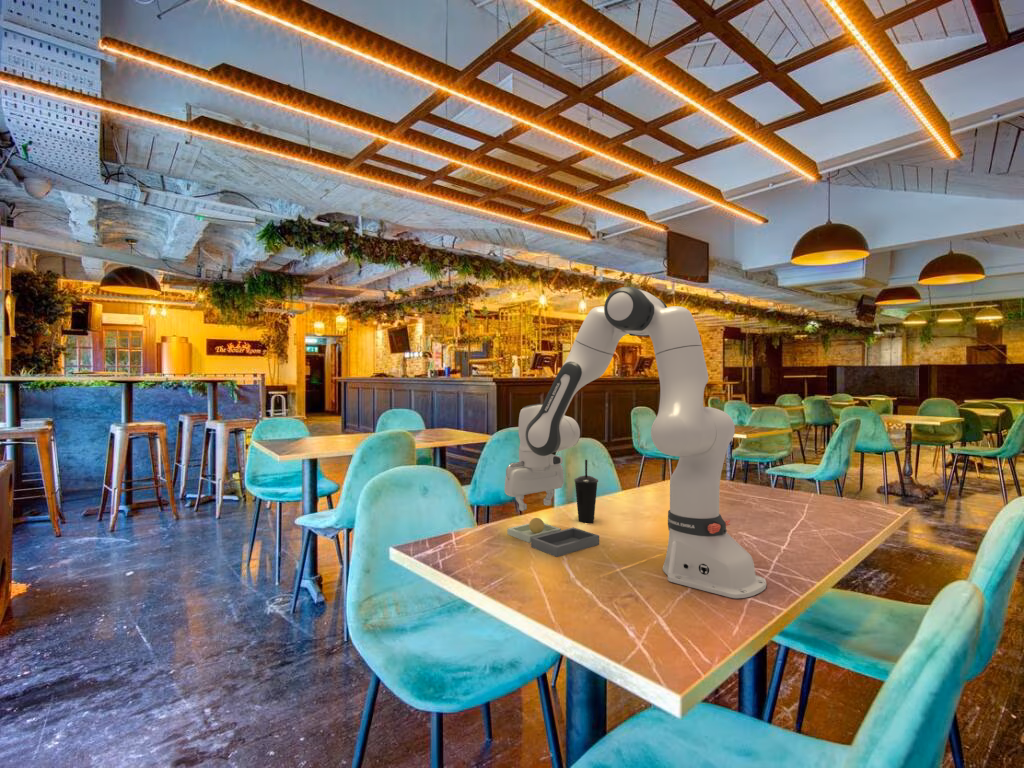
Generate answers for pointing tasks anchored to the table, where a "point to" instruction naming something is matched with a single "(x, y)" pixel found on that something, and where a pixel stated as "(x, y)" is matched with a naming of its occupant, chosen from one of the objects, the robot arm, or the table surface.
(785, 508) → the table surface
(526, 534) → the tray
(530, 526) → the ball
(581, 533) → the dish
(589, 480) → the drinking cup
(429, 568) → the table surface
